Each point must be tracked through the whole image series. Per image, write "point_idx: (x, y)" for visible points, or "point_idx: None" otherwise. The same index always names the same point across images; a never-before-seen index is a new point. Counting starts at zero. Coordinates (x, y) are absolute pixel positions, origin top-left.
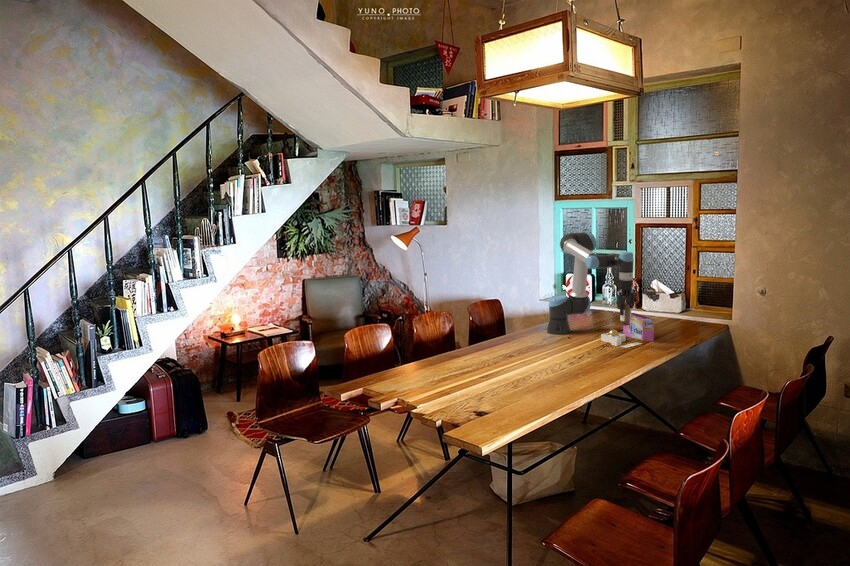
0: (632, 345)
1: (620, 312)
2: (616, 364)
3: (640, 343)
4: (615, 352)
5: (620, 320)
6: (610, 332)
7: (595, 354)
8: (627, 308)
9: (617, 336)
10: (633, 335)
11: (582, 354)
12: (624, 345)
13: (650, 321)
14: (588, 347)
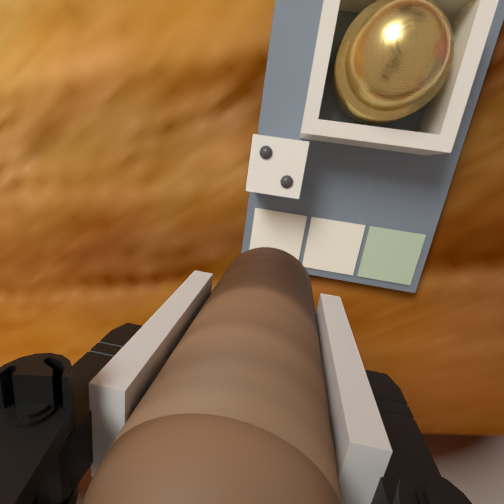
0: (322, 259)
1: (88, 365)
2: (5, 344)
3: (404, 272)
4: (165, 235)
5: (194, 275)
6: (360, 42)
7: (56, 174)
8: None
9: (341, 136)
10: None
11: (3, 116)
12: (290, 221)
13: None
14: (152, 23)
